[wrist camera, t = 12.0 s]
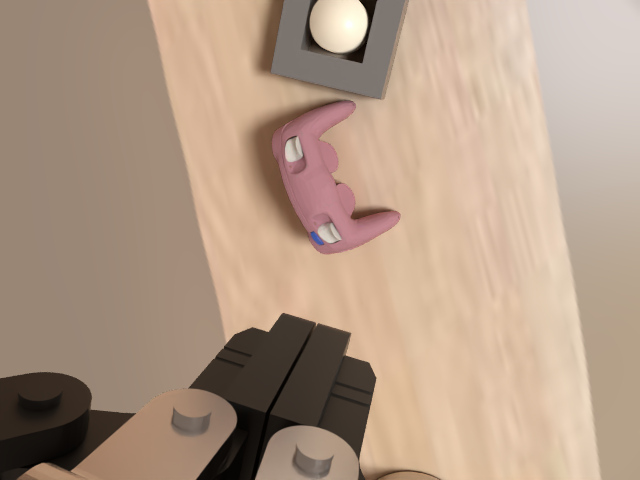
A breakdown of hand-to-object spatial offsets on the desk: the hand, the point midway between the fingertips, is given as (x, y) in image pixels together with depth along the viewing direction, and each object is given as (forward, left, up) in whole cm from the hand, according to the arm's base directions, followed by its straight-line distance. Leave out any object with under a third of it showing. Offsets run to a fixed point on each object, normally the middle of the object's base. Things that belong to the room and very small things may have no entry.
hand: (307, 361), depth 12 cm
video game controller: (+1, +4, -29) cm, 30 cm away
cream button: (+11, +1, -28) cm, 30 cm away
